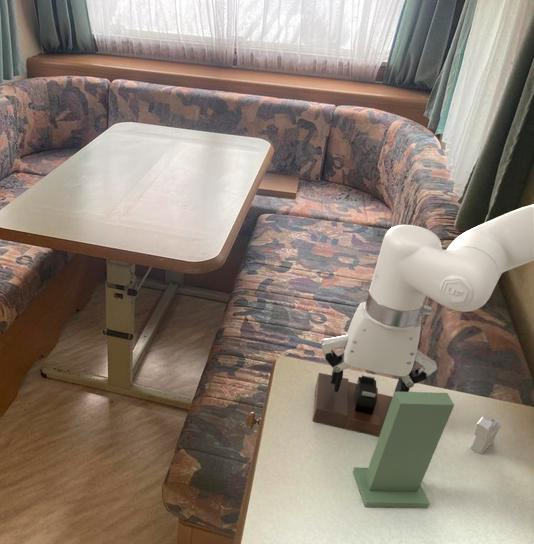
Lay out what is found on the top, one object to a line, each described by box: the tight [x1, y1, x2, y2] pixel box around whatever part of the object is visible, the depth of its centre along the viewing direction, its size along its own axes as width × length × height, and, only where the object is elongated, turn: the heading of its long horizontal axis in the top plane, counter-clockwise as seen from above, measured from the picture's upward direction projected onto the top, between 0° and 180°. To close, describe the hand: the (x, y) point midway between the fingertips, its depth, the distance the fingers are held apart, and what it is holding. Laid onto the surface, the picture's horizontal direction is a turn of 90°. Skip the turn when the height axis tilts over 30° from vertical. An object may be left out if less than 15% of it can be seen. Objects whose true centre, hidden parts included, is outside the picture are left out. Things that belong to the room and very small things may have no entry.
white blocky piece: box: [470, 416, 503, 455], centre depth 88 cm, size 7×2×8 cm, turn 130°
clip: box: [355, 374, 377, 415], centre depth 94 cm, size 3×5×4 cm, turn 165°
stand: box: [352, 391, 455, 509], centre depth 79 cm, size 6×9×18 cm, turn 91°
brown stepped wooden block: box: [312, 372, 393, 438], centre depth 95 cm, size 15×9×3 cm, turn 75°
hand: (366, 392), depth 94 cm, fingers open, 9 cm apart
